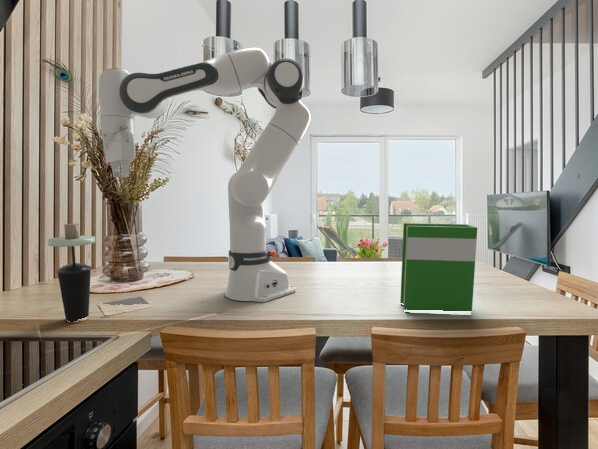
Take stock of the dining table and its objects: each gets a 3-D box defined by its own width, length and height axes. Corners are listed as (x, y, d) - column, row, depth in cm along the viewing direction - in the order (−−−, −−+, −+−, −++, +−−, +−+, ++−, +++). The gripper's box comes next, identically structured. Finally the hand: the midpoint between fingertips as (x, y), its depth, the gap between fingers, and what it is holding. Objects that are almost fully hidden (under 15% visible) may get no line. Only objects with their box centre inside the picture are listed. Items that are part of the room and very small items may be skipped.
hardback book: (404, 313, 103) (408, 226, 100) (400, 304, 110) (403, 223, 108) (471, 316, 101) (477, 227, 98) (462, 307, 108) (468, 224, 106)
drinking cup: (79, 328, 91) (73, 246, 88) (52, 325, 92) (46, 245, 90) (101, 317, 98) (97, 241, 96) (76, 314, 100) (71, 240, 97)
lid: (91, 238, 100) (90, 221, 99) (99, 244, 92) (98, 224, 91) (46, 242, 94) (45, 223, 93) (50, 248, 86) (48, 227, 85)
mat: (141, 298, 114) (141, 296, 114) (153, 309, 105) (153, 307, 104) (96, 305, 107) (96, 304, 107) (105, 318, 97) (105, 316, 97)
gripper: (139, 125, 102) (142, 177, 104) (121, 132, 118) (123, 177, 120) (114, 123, 98) (118, 177, 100) (98, 131, 114) (101, 177, 116)
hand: (120, 177), depth 110 cm, fingers open, 8 cm apart
